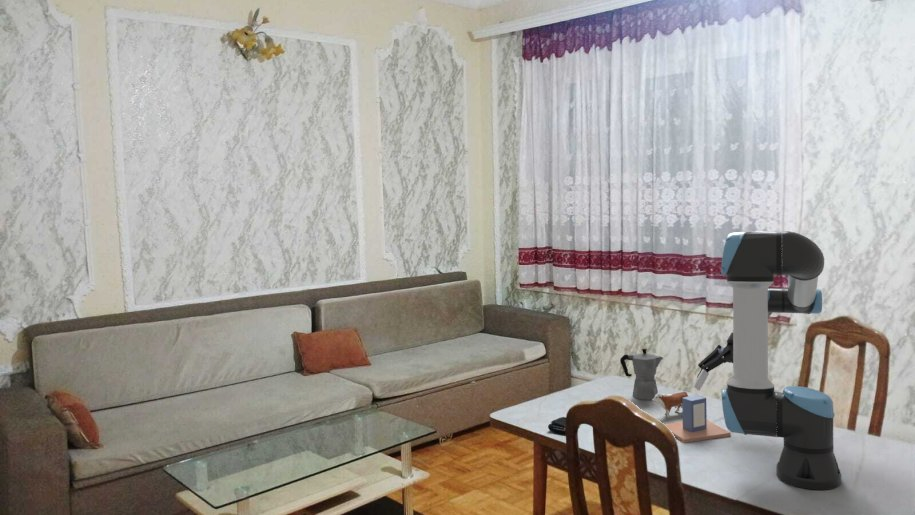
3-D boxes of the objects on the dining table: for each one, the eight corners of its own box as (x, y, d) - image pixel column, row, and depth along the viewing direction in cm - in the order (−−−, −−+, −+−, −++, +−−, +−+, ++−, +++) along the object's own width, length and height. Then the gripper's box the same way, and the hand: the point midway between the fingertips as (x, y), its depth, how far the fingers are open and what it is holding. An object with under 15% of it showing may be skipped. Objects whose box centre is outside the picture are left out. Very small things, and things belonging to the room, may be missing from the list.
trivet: (730, 435, 214) (730, 432, 214) (684, 442, 210) (684, 439, 210) (704, 421, 228) (704, 418, 228) (660, 427, 224) (660, 424, 224)
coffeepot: (663, 393, 260) (662, 345, 258) (664, 400, 251) (663, 351, 249) (621, 391, 264) (620, 345, 262) (620, 399, 255) (619, 351, 253)
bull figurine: (650, 415, 236) (650, 392, 235) (684, 410, 240) (684, 387, 239) (658, 419, 232) (657, 395, 231) (692, 413, 236) (692, 390, 235)
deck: (691, 432, 216) (691, 401, 215) (682, 428, 220) (682, 397, 219) (706, 428, 218) (706, 397, 217) (697, 425, 222) (697, 394, 221)
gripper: (781, 350, 215) (749, 408, 211) (721, 338, 238) (690, 390, 233) (767, 336, 212) (734, 395, 208) (708, 326, 235) (677, 378, 231)
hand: (711, 392), depth 221 cm, fingers open, 13 cm apart
